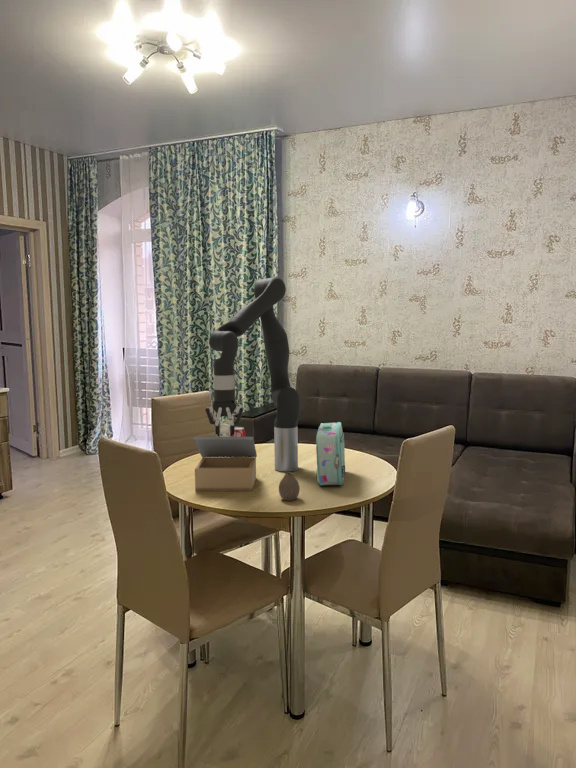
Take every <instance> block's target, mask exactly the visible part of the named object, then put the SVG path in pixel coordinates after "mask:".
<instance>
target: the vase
mask: <svg viewBox="0 0 576 768" xmlns="http://www.w3.org/2000/svg"><path fill="white" fill-rule="evenodd" d="M278 493H279V496H280V498H281V499H282V500H283V501H286V502H293V501H295V500H296V499H297V498H298V497H299V495H300V483H299V481H298V479H297V478H296V477H295V475H294V474H293V473H292V472H285V473H284V476H283V477H282V478H281V479H280V482H279V484H278Z"/></svg>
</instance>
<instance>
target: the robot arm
mask: <svg viewBox="0 0 576 768" xmlns="http://www.w3.org/2000/svg"><path fill="white" fill-rule="evenodd" d="M286 288H287V287H286V284H285V282H284V280H283V279H281V277H275V276H274V277H268V278H262V279H258V280H257V281H256V282H255V284H254V293H253V294H254V298H255V299H254V300H252V301H251V302H249V303H248V304H246V305H244V306H243V307H241V308H240V309H239V310H238V311H236V313H234V315H233V316H231V317H230V319H229V321H227V322H225V323H223V324H221V326H219V327H218V328H217V329H215V330H214V331H213V332H211V335H210V336H209V338H208V345H209V347H210V348H211V350H213V351H216V352H221V354H220V357H218V358H216V359H214V362H213V384H212V385H213V386H212V387H213V404H212V405H211V406H207V407H206V408H205V413H206V416H207V418H208V421H209V424H210V425H214V426H215V427H214V428H215V435H217V436H216V437H221V433H220V430H219V428H220V426H221V425H220V422H221V419H222V417H227V418H228V420H229V422H230V425H229V426H230V433H229V437H230V436H233V434H234V433H235V427H236V425H238V424H239V423H240V422H241V419H242V415H243V412H244V409H245V407H244V406H243V407H242V406H238V405H237V403H236V382H235V381H236V379H235V366H234V365H235V361H236V355H237V352H238V348H239V340H238V338H239V337H241V336H243V335H244V334H245V333H246V332H247V331H248V329H249V328H251V326H252V325H253V324H254V323H255V322H256V321H258V319H259V318H260V319H259V320H260V325H261V329H262V334H263V342H264V350H265V355H266V359H267V366H268V370H269V371H268V372H269V374H270V375H269V377H270V389H271V393H270V394H271V400H272V403H273V404H274V406H276V417H275V419H274V421H273V426H274V428H273V429H274V430H273V432H274V435H273V436H274V437H273V438H274V439H273V440H274V470H275V471H277V472H284V473H289V472H295V471H298V470H299V461H298V460H299V458H298V457H299V456H298V455H299V450H298V449H299V447H298V446H299V443H298V440H299V439H298V434H299V433H298V423H299V422H298V421H299V419H300V407H301V406H300V395H299V392H298V390H296V389H295V388H294V387H292V386H291V383H290V379H289V371H288V369H289V361H290V346H289V339H288V334H287V331H285V329H284V327H283V326H282V324H281V322H280V321H279V320H278V317H276V314H275V310H274V305H276V304H277V303H278V302H280V301H281V300H283V299H284V298H285V295H286V291H287V289H286ZM213 411H214V412H215V413H216V418H215V419H214V416H213V414H212V413H213ZM235 411H236V412H237V413H238V414H237V417H236V420H235V419H234V415H233V414H234V412H235Z"/></svg>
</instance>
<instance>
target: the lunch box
mask: <svg viewBox="0 0 576 768" xmlns="http://www.w3.org/2000/svg"><path fill="white" fill-rule="evenodd" d="M315 446H316V448H315V450H316V465H317V466H316V468H317V469H316V481H317V483H318V485H319V486H342V485H344V480H345V476H346V464H345V463H346V462H345V459H346V458H345V457H346V455H345V454H346V453H345V433H344V432H343V425H342V422H340V421H337V422H324V423H322V422H321V423H320V425H319V426H318V429H317V432H316V437H315Z"/></svg>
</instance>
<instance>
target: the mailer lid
mask: <svg viewBox="0 0 576 768" xmlns="http://www.w3.org/2000/svg"><path fill="white" fill-rule="evenodd" d="M230 426H231V425H229V424H227V423H222V424H221V425H220V428H219V430H220V435H221V436H193V441H194V443H195V445H196V449H197V450H198V452H199V454H200V457H201V458H203V457H256V458H257V456H258V455H257V449H256V446H255V445H256V444H255V440H254V436H246V437H230V436H228V435H230Z"/></svg>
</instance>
